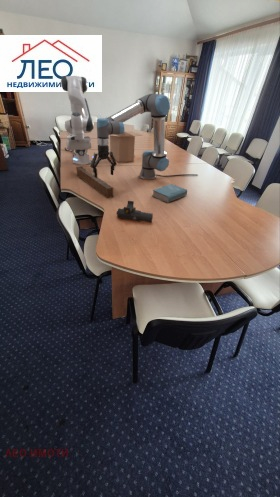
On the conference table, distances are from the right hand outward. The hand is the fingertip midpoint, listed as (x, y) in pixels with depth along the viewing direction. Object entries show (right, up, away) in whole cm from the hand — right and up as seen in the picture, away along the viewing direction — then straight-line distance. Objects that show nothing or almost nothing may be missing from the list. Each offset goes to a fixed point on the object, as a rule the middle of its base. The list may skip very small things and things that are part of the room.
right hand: (104, 176), depth 162 cm
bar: (-12, -1, +20) cm, 24 cm away
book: (+50, -12, +11) cm, 52 cm away
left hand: (-24, +26, +24) cm, 42 cm away
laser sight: (+23, -35, -23) cm, 48 cm away
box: (+6, +50, +90) cm, 103 cm away
